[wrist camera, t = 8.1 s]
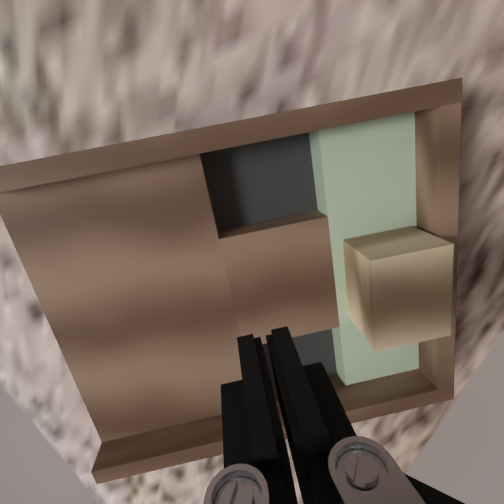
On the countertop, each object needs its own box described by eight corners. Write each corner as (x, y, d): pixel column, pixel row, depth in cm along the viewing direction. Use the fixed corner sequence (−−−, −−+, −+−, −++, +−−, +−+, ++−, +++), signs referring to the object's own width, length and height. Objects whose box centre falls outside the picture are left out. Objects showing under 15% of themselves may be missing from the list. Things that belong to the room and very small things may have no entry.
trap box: (6, 168, 17) (-51, 176, 14) (410, 90, 18) (462, 77, 15) (115, 428, 23) (97, 483, 19) (416, 358, 24) (453, 398, 20)
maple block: (342, 239, 18) (370, 260, 15) (411, 225, 19) (453, 244, 15) (349, 317, 20) (375, 351, 17) (412, 303, 20) (450, 335, 17)
